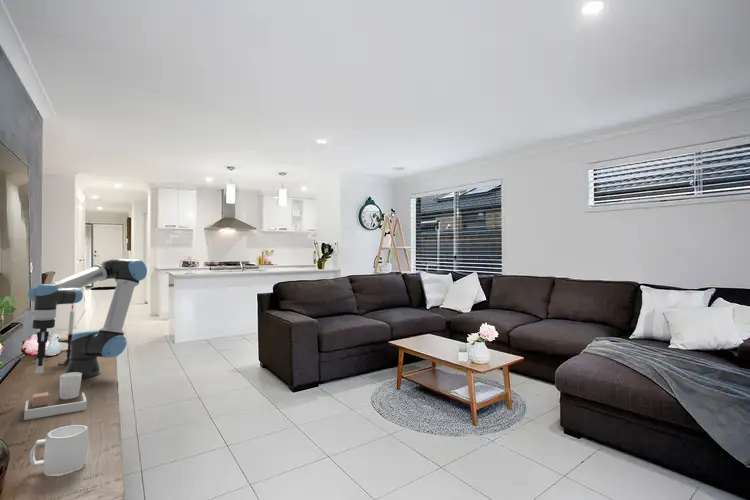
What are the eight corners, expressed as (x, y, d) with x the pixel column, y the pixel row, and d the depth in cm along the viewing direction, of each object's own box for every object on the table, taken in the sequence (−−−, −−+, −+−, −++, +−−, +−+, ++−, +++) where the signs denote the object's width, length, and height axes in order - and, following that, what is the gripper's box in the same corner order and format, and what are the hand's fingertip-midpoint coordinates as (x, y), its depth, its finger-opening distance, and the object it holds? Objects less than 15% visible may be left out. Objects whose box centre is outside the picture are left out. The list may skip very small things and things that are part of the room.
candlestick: (77, 365, 225) (82, 304, 227) (54, 366, 220) (59, 304, 221) (81, 360, 235) (85, 302, 236) (58, 362, 229) (62, 302, 231)
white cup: (67, 400, 170) (69, 377, 171) (53, 398, 172) (55, 376, 172) (84, 395, 178) (86, 373, 178) (70, 393, 180) (72, 371, 180)
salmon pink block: (32, 403, 166) (33, 394, 166) (47, 401, 169) (48, 392, 169) (32, 407, 162) (32, 397, 162) (47, 404, 165) (48, 395, 165)
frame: (25, 409, 159) (25, 400, 159) (83, 400, 171) (84, 392, 172) (23, 420, 149) (24, 410, 149) (85, 409, 161) (86, 401, 161)
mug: (22, 482, 109) (25, 443, 109) (33, 465, 118) (36, 429, 118) (82, 472, 115) (85, 435, 116) (88, 456, 124) (91, 423, 125)
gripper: (33, 317, 175) (28, 370, 174) (32, 321, 165) (27, 377, 164) (54, 316, 180) (50, 368, 179) (55, 320, 170) (50, 375, 169)
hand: (39, 372), depth 171 cm, fingers closed
